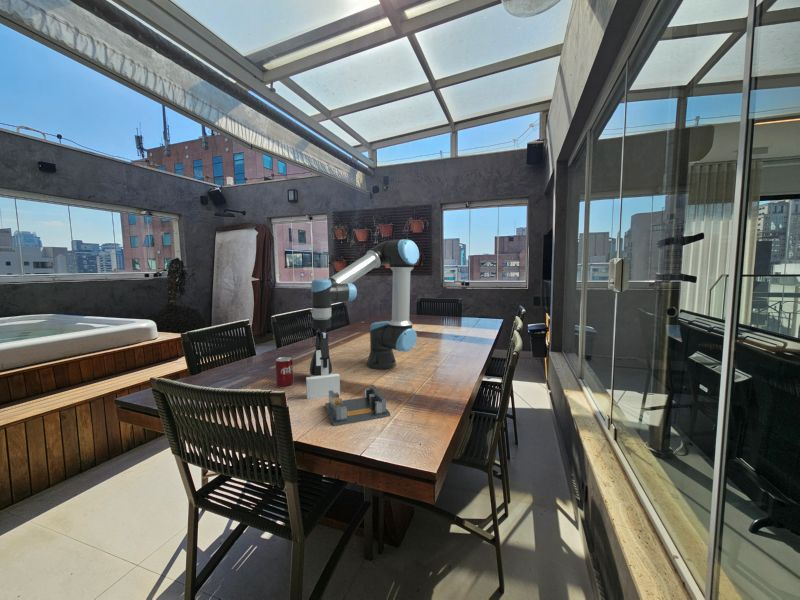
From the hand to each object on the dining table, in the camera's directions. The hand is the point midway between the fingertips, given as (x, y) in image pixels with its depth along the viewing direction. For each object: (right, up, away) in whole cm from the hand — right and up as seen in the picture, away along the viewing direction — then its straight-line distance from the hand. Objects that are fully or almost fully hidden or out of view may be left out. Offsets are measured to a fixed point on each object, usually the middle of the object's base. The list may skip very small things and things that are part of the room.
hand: (322, 370), depth 135 cm
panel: (0, -11, +1) cm, 11 cm away
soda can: (-19, -9, +12) cm, 24 cm away
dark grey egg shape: (-5, -9, +20) cm, 22 cm away
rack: (+16, -12, -13) cm, 24 cm away
